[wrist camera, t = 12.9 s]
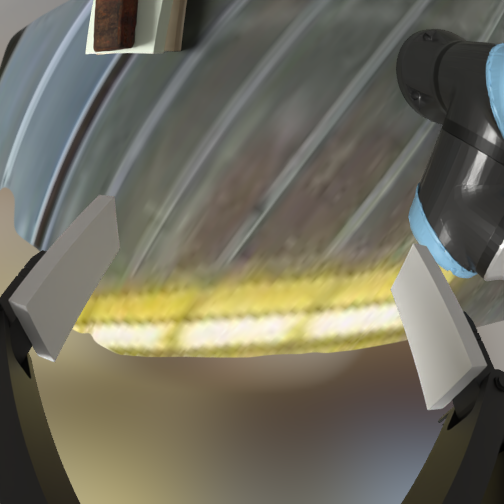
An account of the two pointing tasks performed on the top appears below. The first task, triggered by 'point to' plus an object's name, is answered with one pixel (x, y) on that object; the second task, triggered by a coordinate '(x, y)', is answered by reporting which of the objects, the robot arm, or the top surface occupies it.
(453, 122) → the robot arm
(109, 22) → the brick
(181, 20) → the base block
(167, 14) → the top block
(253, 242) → the top surface
